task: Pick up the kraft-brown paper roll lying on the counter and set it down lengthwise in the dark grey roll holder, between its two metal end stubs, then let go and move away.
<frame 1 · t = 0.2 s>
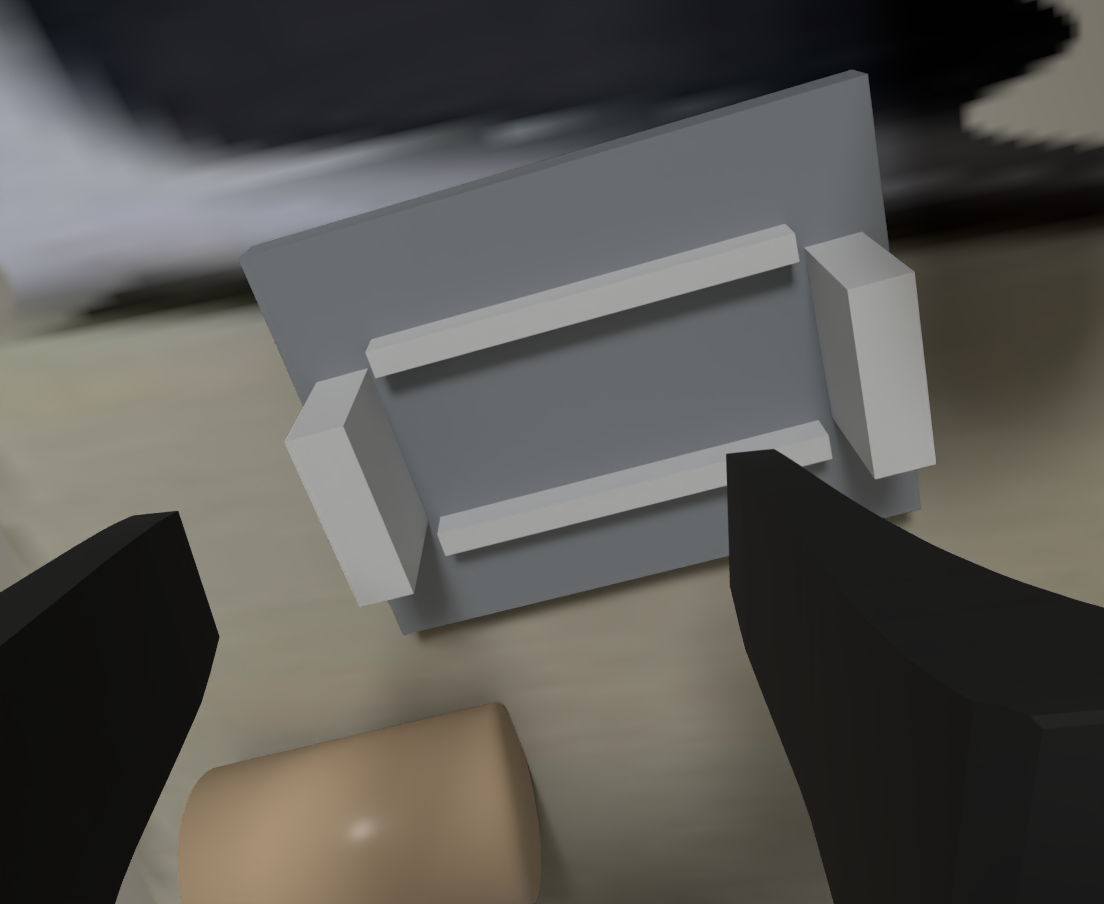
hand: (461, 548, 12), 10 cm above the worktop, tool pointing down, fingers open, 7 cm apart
holder: (601, 376, 22), on the worktop
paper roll: (369, 831, 25), point 2 cm above the worktop
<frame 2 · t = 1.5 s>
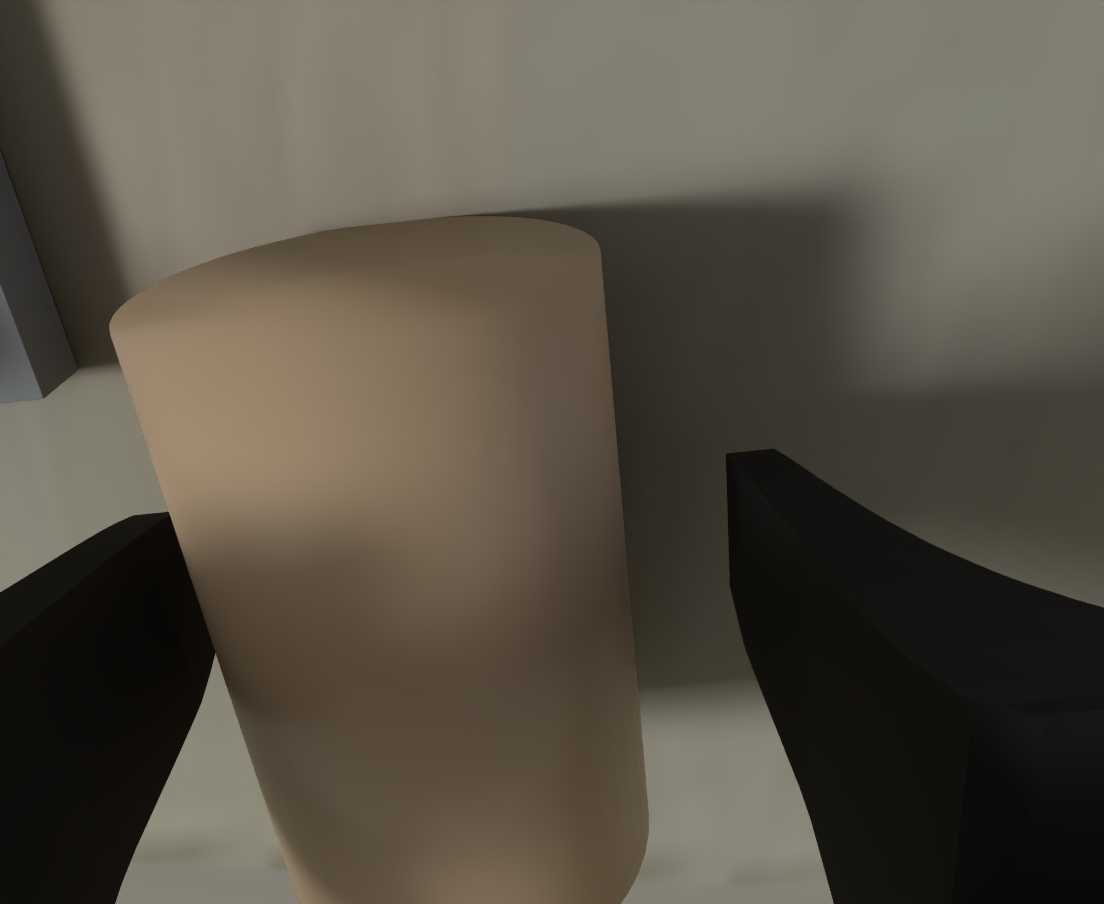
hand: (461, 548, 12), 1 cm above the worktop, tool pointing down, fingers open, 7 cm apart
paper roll: (425, 590, 12), point 2 cm above the worktop, tilted 17°
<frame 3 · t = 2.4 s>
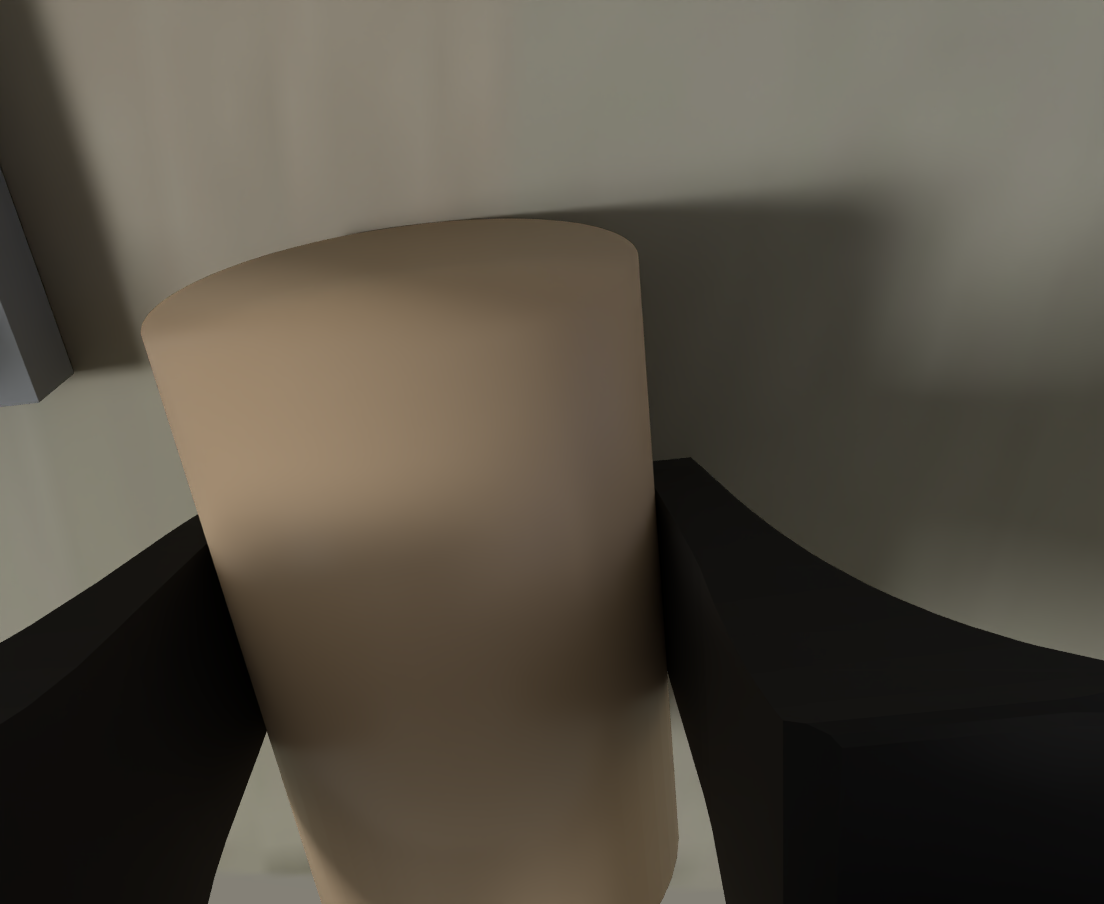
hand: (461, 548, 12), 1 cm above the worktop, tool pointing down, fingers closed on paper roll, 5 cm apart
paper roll: (455, 598, 11), point 2 cm above the worktop, tilted 8°, touching gripper
when the fingers open (3 cm above the worktop, at t = 6.5 s): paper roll stays where it is, resting on holder.
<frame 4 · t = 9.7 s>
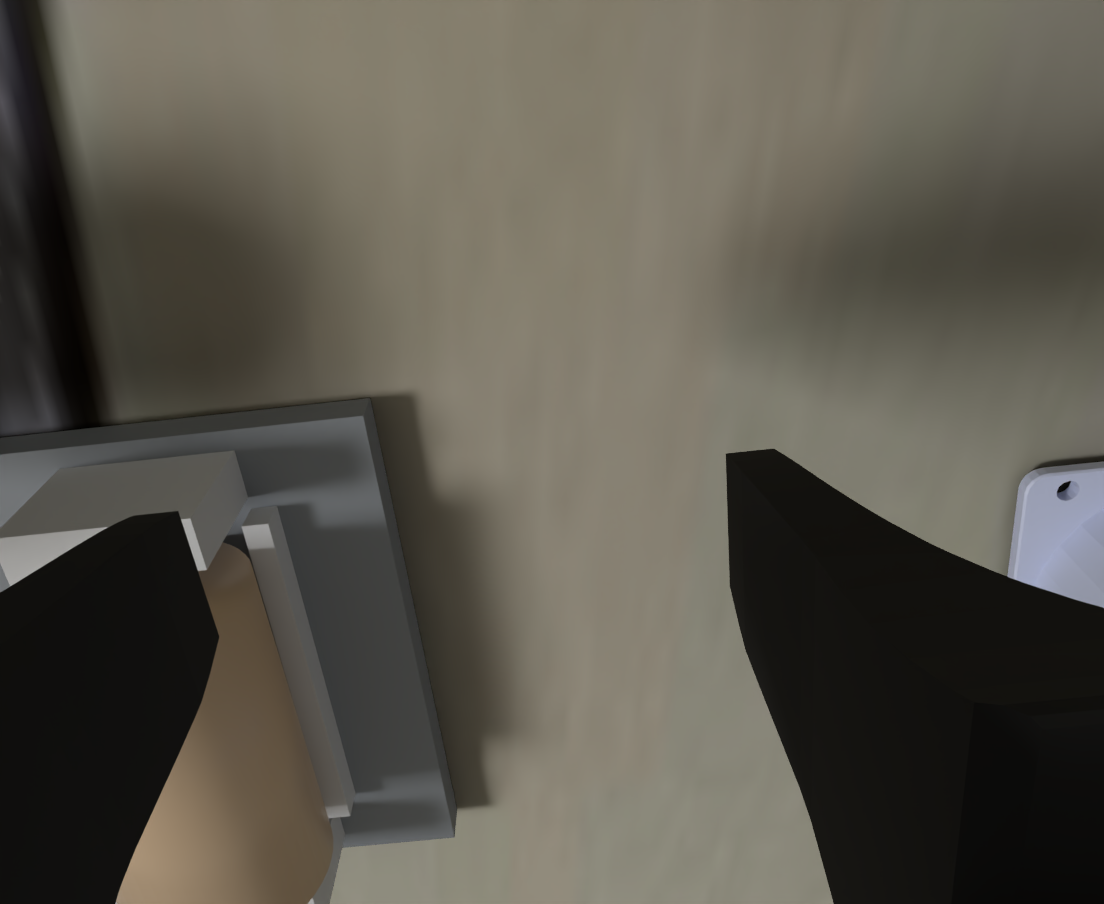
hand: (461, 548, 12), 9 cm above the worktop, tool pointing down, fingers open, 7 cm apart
holder: (229, 646, 25), on the worktop
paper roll: (185, 746, 22), point 3 cm above the worktop, tilted 8°, touching holder
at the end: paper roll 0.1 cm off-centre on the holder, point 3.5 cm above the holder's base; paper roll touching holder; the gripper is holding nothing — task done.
